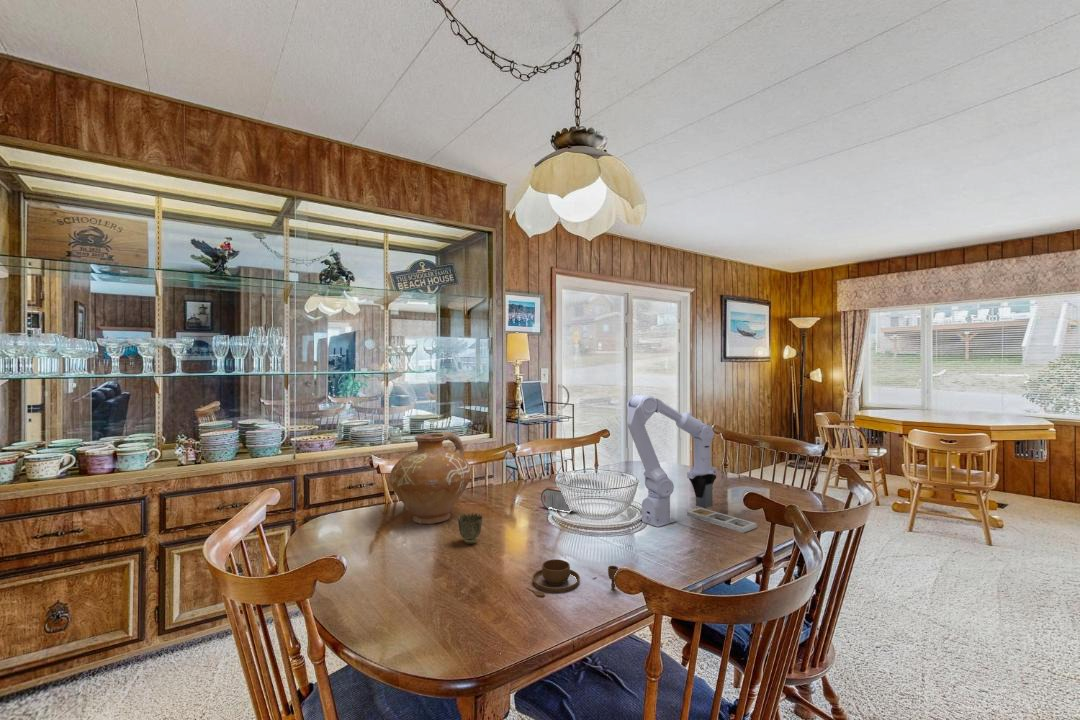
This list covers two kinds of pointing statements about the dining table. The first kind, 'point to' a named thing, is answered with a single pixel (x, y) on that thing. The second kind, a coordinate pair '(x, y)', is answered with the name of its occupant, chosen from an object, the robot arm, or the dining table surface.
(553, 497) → the tin
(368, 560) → the dining table surface
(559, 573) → the place setting
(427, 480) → the jug
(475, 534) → the cup
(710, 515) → the grey compartment tray
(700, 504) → the block
